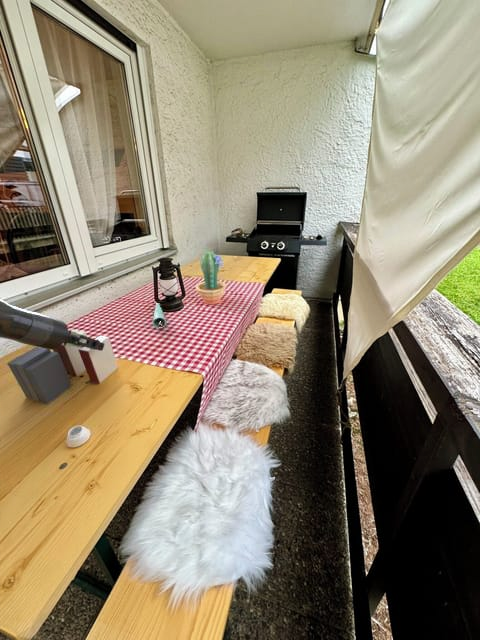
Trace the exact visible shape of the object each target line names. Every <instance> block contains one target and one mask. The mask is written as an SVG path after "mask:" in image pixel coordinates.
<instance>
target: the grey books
mask: <svg viewBox="0 0 480 640" xmlns="http://www.w3.org/2000/svg"><path fill="white" fill-rule="evenodd" d="M7 366H8V367H9V369H10V371H11V373H12V375H13V376H14V378H15V380H16V382H17V384H18V385H19V387H20V390H21V391H22V393H23V394H24V396H25V399H29V400H33V401H36V402H39V403H43V404H46V405H49V404H50V403H51V402H53V401H54V400H55V399H56V398H58V397H60V395H62V394H63V393H65V391H67V390H68V389H69V388H71V387H72V386H73V384H72V381H71V379H70V377H69V376H70V375H68V374H67V372H66V369H65V367H64V365H63V362H62V360H61V358H60V355H59V353H56V352H54V351H51V349H46V348H41V347H37V346H34V347H33V348H31V349H29V350H27V351H26V352H24V353H22V354H20V355H19V356H17V357H15V358H13V359H11V360H9V361H8V362H7Z"/></svg>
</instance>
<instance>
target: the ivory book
mask: <svg viewBox="0 0 480 640" xmlns="http://www.w3.org/2000/svg"><path fill="white" fill-rule="evenodd" d="M94 339H95V340H98V341H100V342H101V343H104V348H103V350H102V351H100V350H96V349H95V350H94V349H90V348H87V347H84V348H80V349H79V353H80V356H81V358H82V361H83V363H84V366H85V369H86V370H85V371H86V374H87V376H88V379H89V381H90V383H94V384H98V385H101V383H102V382H103V381H104V380H106V379H107V378H108V377H109V376H110V375H112V373H114V372H115V371H116V370H117V369H118V368H119V366H118V362H117V359H116V356H115V353H114V350H113V346H112V343H111V339H110V337H109V336H106V335H99V336H97V337H96V338H94Z"/></svg>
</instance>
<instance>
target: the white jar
mask: <svg viewBox="0 0 480 640" xmlns="http://www.w3.org/2000/svg"><path fill="white" fill-rule="evenodd" d="M91 435H92V433H91V430H90V429H89V428H88V427H85V426H82V425H81V424H79V425H75V426H73V427H71V428H70V429H69V430H68V432H67V436H66V439H65V444H66V445H67V446H68V448H78V447H79V446H82V445H84V444H85V443H86V442H87V441H88V440H89V439H90V438H91Z"/></svg>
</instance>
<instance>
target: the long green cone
mask: <svg viewBox="0 0 480 640" xmlns="http://www.w3.org/2000/svg"><path fill="white" fill-rule="evenodd" d="M159 304H160V302H159V303H157V302H156V303H155V307H154V312H153V316H152V327H154V328H155V329H156V330H157V329H158V328H159V327H160V326H158V325H159V322H160V321H161V324H162V328H163V327H164V328H165V327H166V326H167V320H166V317H165V314H164V311H163V309H162V307H160V306H161V304H160V305H159ZM158 330H159V329H158Z"/></svg>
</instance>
